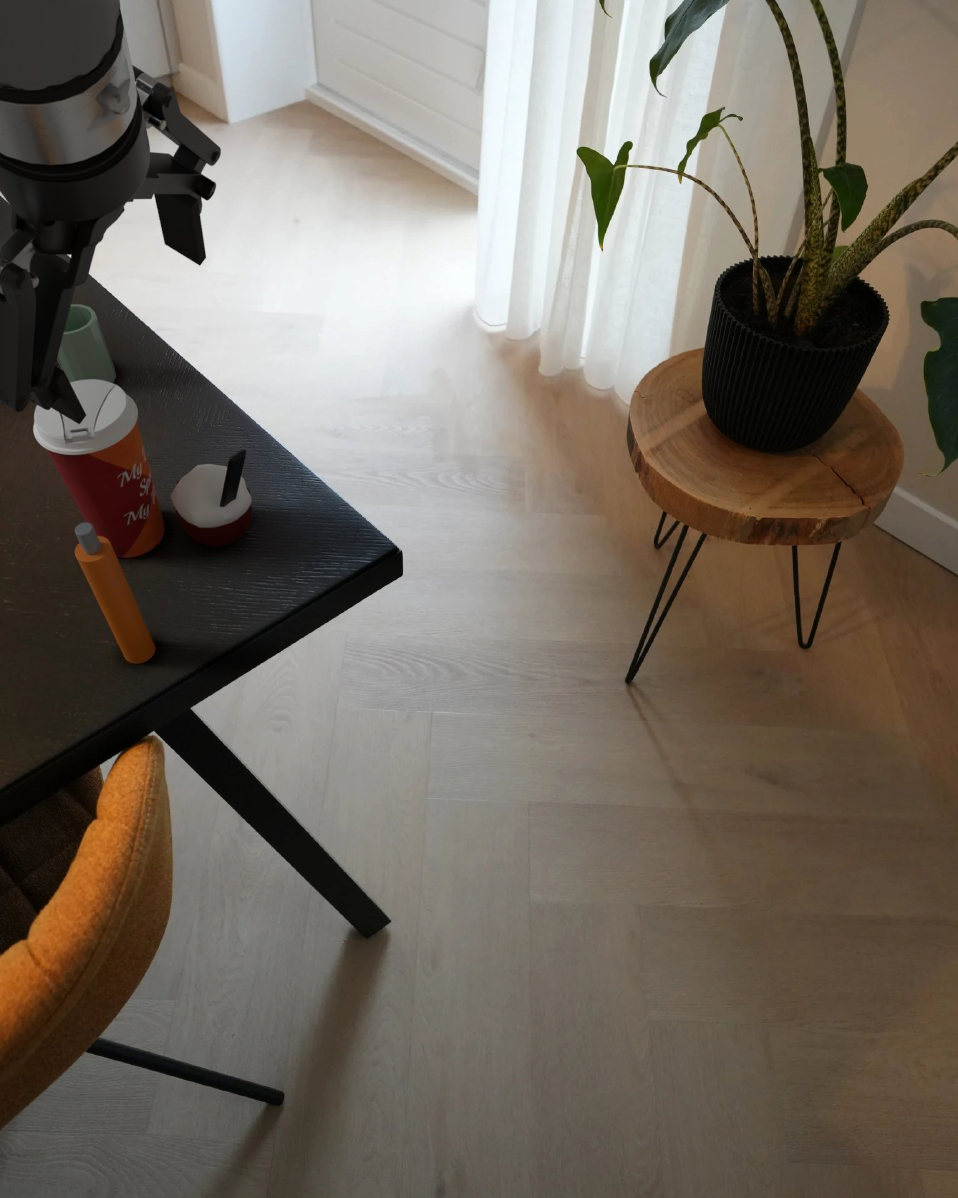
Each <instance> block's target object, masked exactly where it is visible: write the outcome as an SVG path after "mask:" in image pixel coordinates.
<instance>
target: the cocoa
mask: <svg viewBox="0 0 958 1198" xmlns="http://www.w3.org/2000/svg"><path fill="white" fill-rule="evenodd" d="M246 456H247V450H246V449H239V450H238V451H237V452H235V453H234V454H232V455H231V456H229V457H228V462H227V466H226V465H219V464H212V463H205V464H197V465H196V466H194V468H193V469H191V470H190V471H189V472H188V473H187V474H185V475H183V476H182V477H181V478H180V479H178V480H177V481H176V485H175V487H174V488H173V490H172V492H171V493H170V495H169V497H170V499H171V503H172V505H173V507H174V508H175V512H176V513H175V514H176V516H177V519H178V521H179V523H180V524H181V526H182V528H183V529H184V530H185V531H186V533H187V534H188V535H189V537H191V539H192V540H193V541H194V542H198V543H200V544H202V545H204V546H206V547H219V548H220V547H225V546H228V545H232V544H234V543H235V542H237V541H238V540H239V539H240V538H242V537H243V536H244V535H246V533H247V531H248V529H249V527H250V525H251V522H252V518H253V505H252V500H253V499H252V495H251V490H250V489H249V488H248V486H247V485H246V481H245V479H244V478H243V476H242V474H243V469H244V465H245V461H246Z"/></svg>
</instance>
